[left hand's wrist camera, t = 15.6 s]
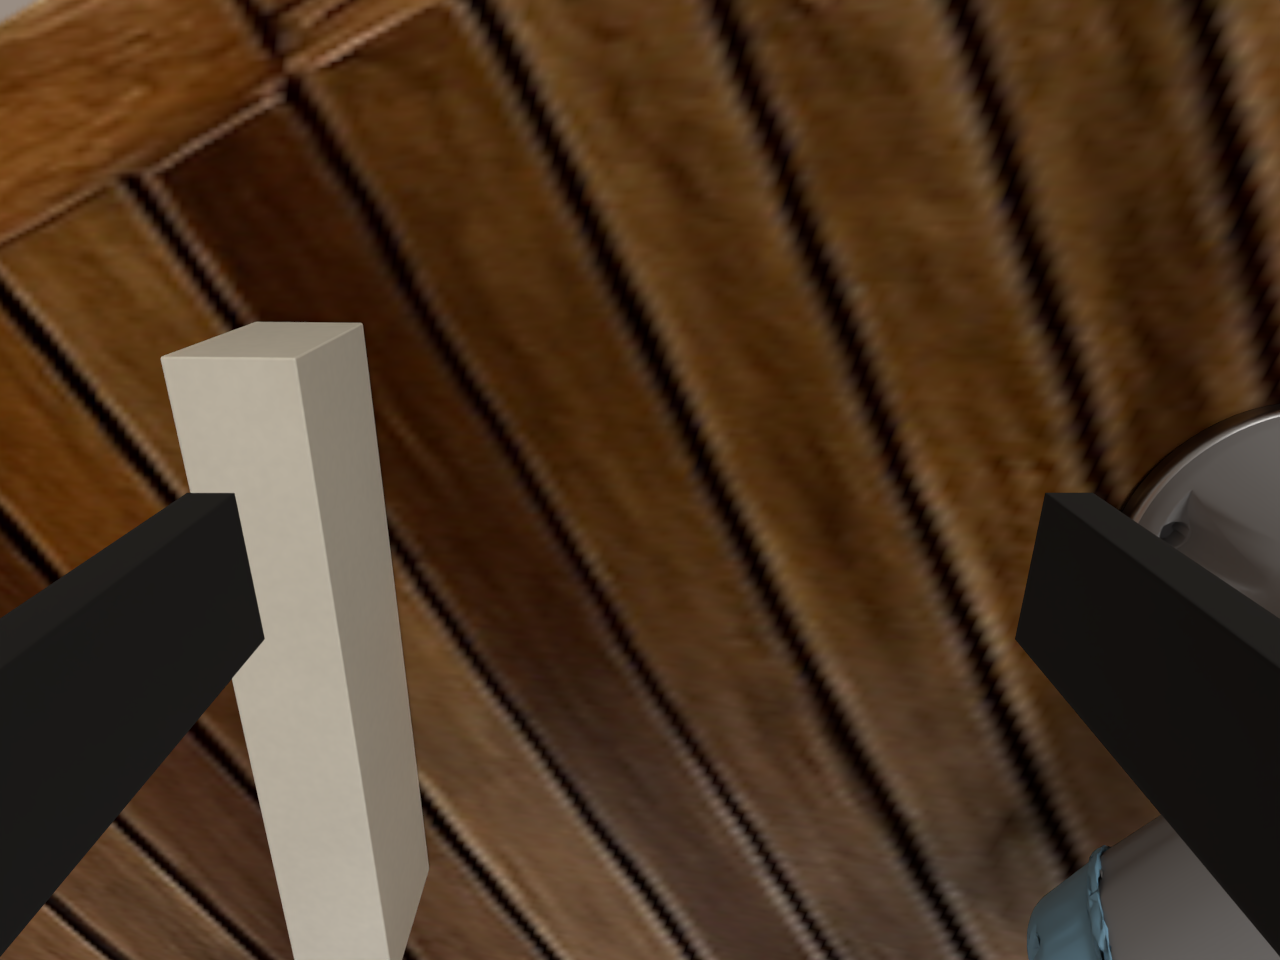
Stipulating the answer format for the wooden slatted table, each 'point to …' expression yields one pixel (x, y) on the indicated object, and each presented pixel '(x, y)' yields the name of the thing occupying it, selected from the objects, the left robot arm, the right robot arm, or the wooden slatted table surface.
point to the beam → (314, 624)
